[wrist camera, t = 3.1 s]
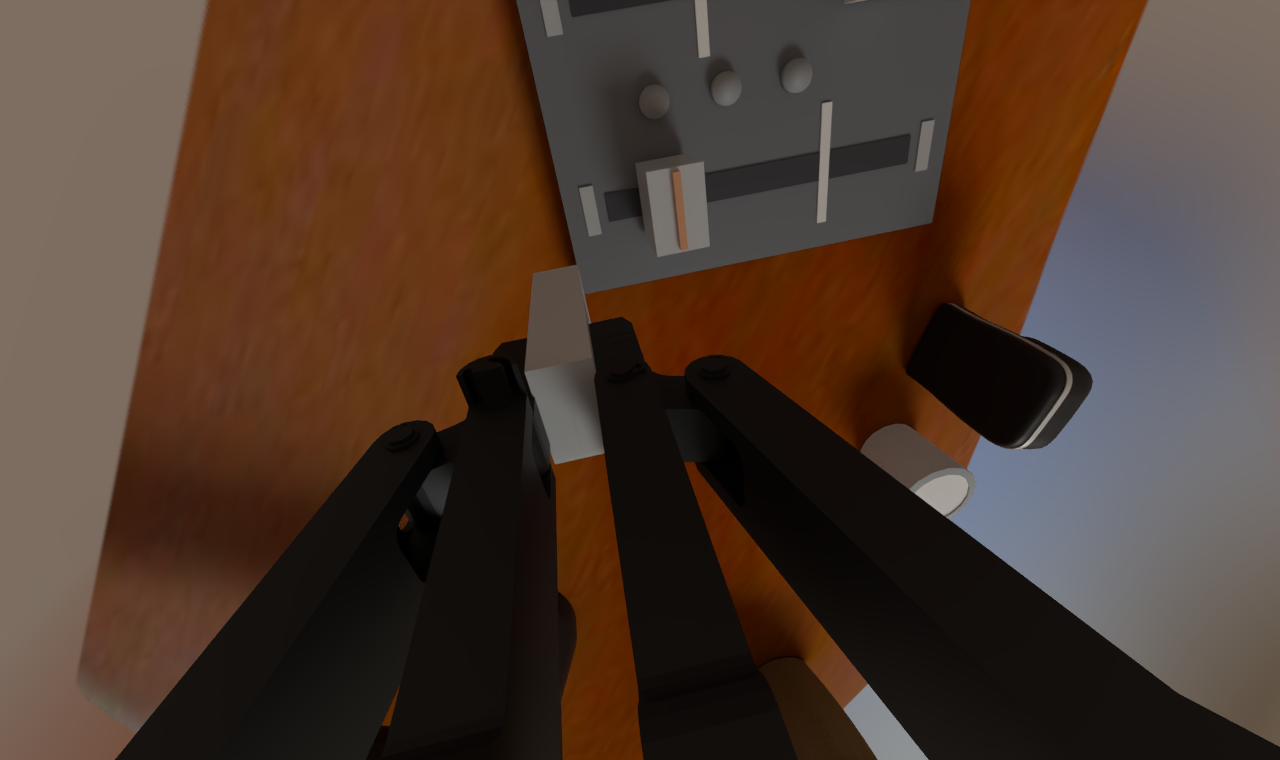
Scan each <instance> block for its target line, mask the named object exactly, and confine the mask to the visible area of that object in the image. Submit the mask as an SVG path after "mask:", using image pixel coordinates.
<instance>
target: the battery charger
mask: <svg viewBox="0 0 1280 760" xmlns="http://www.w3.org/2000/svg"><path fill="white" fill-rule="evenodd" d="M906 374H907V375H908V376H910V377H911V378H913V379H914V380H915V381H917V382H918V383H919V384H920V385H922V386H923V387H924V388H926V389H927V390H928V391H929V392H930V393H932V394H933V395H934V396H935V397H936V398H937V399H938V400H939V401H940V402H941V403H943V404H944V405H945V406H946V407H947V408H948V409H949V410H950V411H952V412H953V413H954V414H955V415H956V416H957V417H959V418H960V419H961V420H962V421H963V422H965V423H966V424H967V425H968V426H970V427H971V428H972V429H974V430H975V431H976V432H977V433H979V434H980V435H981V436H983V437H984V438H986V439H987V440H988V441H990V442H992V443H994V444H995V445H998V446H1000V447H1002V448H1006V449H1036V448H1042V447H1044V446H1046V445H1048V444H1049V443H1051V441H1053V440H1054V439H1055V438H1056V436H1057V435H1058V434H1059V433H1060V431H1061V430H1062V429H1063V428H1064V427H1065V425H1066V424H1067V423H1068V422H1069V420H1070V419H1071V418H1072V416H1073V415H1074V414H1075V412H1076V411H1077V410H1078V408H1079V407H1080V405H1081V404H1082V403H1083V401H1084V400H1085V398H1086V397H1087V396H1088V394H1089V392H1090V390H1091V388H1092V382H1093V381H1092V377H1091V374H1090V373H1089V372H1088V370H1087V369H1086V368H1085V367H1084V366H1082V365H1081V364H1080V363H1079V362H1077V361H1076V360H1074V359H1072V358H1071V357H1069V356H1067V355H1065V354H1063V353H1062V352H1060V351H1058V350H1056V349H1054V348H1052V347H1051V346H1049V345H1047V344H1045V343H1042V342H1040V341H1039V340H1036V339H1033V338H1030V337H1023V336H1020V335H1018V334H1016V333H1014V332H1012V331H1010V330H1007V329H1005V328H1003V327H1001V326H998V325H996V324H994V323H991V322H989V321H987V320H985V319H983V318H982V317H980V316H978V315H976V314H975V313H974V312H972V311H969V310H967V309H966V308H964V307H962V306H959V305H956V304H953V303H948V304H942V305H941V306H940V307H939V309H938V311H937V312H936V314H935V316H934V317H933V319H932V321H931V323H930V324H929V326H928V328H927V330H926V332H925V333H924V335H923V337H922V339H921V341H920V343H919V345H918V347H917V349H916V351H915V353H914V355H913V357H912V359H911V361H910V363H909V365H908V367H907V369H906Z"/></svg>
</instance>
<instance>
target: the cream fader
mask: <svg viewBox="0 0 1280 760" xmlns="http://www.w3.org/2000/svg"><path fill="white" fill-rule="evenodd" d="M859 1H865V0H844V4H848V3H854V2H859Z"/></svg>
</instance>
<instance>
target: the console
mask: <svg viewBox="0 0 1280 760" xmlns="http://www.w3.org/2000/svg"><path fill="white" fill-rule="evenodd" d="M516 1H517V6H518V10H519V14H520V19H521V23H522V27H523V32H524V36H525V40H526V45H527V49H528V54H529V58H530V62H531V67H532V71H533V75H534V80H535V84H536V89H537V93H538V97H539V102H540V106H541V110H542V115H543V119H544V124H545V128H546V132H547V137H548V141H549V145H550V150H551V154H552V158H553V163H554V167H555V172H556V176H557V180H558V185H559V189H560V193H561V198H562V202H563V207H564V211H565V215H566V220H567V224H568V228H569V233H570V237H571V242H572V246H573V250H574V255H575V259H576V263H577V265H578V268H579V273H580V277H581V282H582V286H583V290H584V294H588V293H593V292H598V291H603V290H608V289H613V288H618V287H623V286H627V285H632V284H637V283H642V282H647V281H652V280H657V279H662V278H666V277H671V276H676V275H681V274H686V273H691V272H696V271H700V270H705V269H710V268H715V267H720V266H725V265H730V264H735V263H739V262H744V261H749V260H754V259H759V258H764V257H769V256H774V255H778V254H783V253H788V252H793V251H798V250H803V249H808V248H813V247H817V246H822V245H827V244H832V243H837V242H842V241H847V240H851V239H856V238H861V237H866V236H871V235H876V234H881V233H886V232H890V231H895V230H900V229H905V228H910V227H915V226H920V225H925V224H929V223H932V221H933V215H934V210H935V204H936V198H937V192H938V186H939V181H940V175H941V169H942V163H943V158H944V152H945V146H946V140H947V134H948V129H949V123H950V117H951V111H952V105H953V100H954V94H955V88H956V82H957V76H958V71H959V65H960V59H961V53H962V47H963V42H964V36H965V30H966V24H967V18H968V13H969V7H970V1H971V0H865V1H859V2H854V3H848V4H844V0H516ZM686 153H687V154H689V155H691V156H693V157H695V158H698V159H700V160H702V161H704V173H705V187H706V200H707V214H708V227H709V241H710V247H705V248H700V249H695V250H690V251H685V252H680V253H675V254H670V255H665V256H661V257H657V256H656V254H655V253H654V251H653V250H652V248H651V247H650V245H649V243H648V242H647V240H646V235H645V228H644V221H643V214H642V207H641V200H640V194H639V187H638V180H637V173H636V166H635V163H638V162H644V161H649V160H654V159H659V158H665V157H670V156H675V155H680V154H686Z"/></svg>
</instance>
